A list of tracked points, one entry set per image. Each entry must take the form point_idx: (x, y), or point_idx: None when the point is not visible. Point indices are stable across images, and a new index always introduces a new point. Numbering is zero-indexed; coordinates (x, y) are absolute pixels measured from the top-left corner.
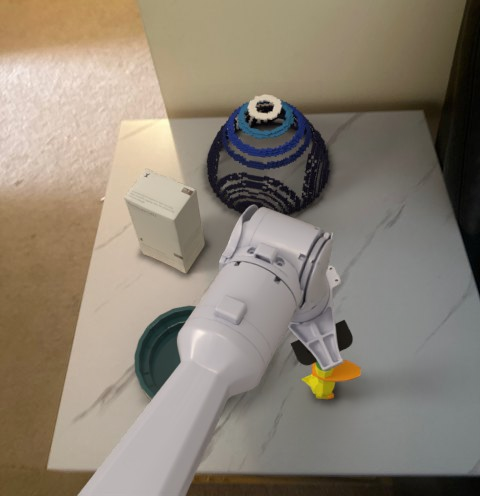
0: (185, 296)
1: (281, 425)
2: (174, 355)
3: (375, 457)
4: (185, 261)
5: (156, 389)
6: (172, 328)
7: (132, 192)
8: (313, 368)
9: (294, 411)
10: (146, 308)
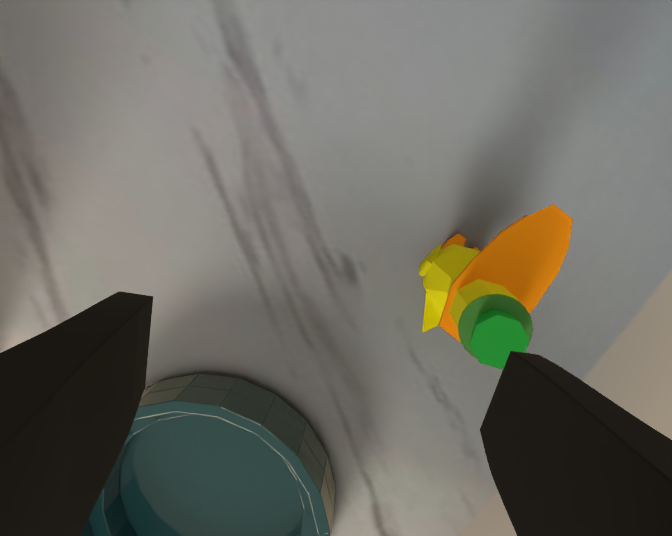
0: None
1: (455, 393)
2: (174, 510)
3: (652, 255)
4: None
5: None
6: (109, 494)
7: None
8: (455, 333)
9: (448, 350)
10: None
